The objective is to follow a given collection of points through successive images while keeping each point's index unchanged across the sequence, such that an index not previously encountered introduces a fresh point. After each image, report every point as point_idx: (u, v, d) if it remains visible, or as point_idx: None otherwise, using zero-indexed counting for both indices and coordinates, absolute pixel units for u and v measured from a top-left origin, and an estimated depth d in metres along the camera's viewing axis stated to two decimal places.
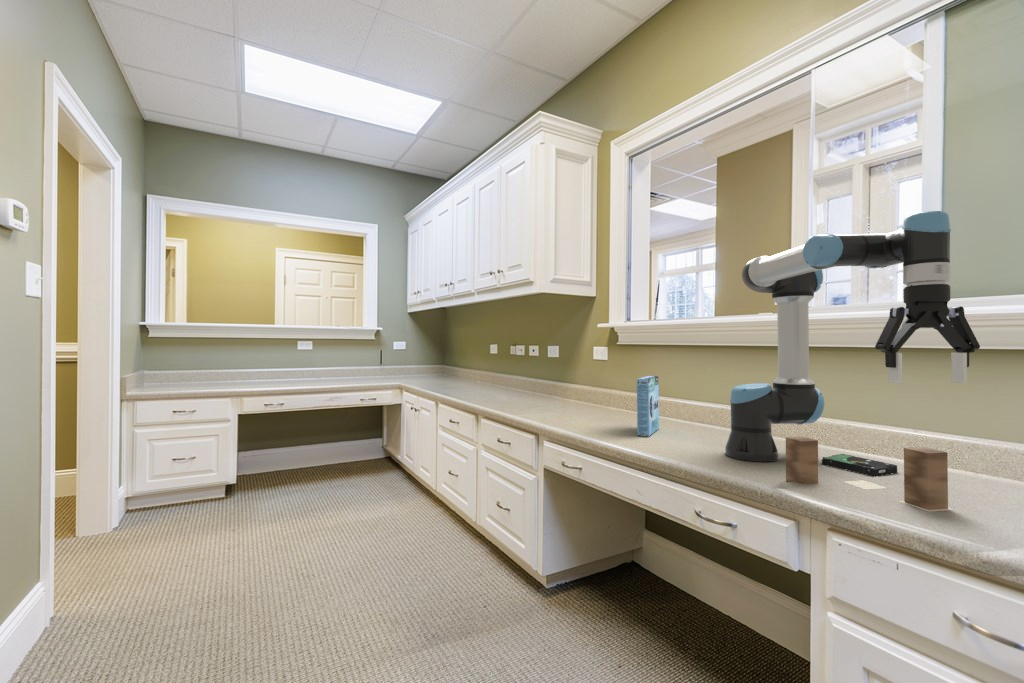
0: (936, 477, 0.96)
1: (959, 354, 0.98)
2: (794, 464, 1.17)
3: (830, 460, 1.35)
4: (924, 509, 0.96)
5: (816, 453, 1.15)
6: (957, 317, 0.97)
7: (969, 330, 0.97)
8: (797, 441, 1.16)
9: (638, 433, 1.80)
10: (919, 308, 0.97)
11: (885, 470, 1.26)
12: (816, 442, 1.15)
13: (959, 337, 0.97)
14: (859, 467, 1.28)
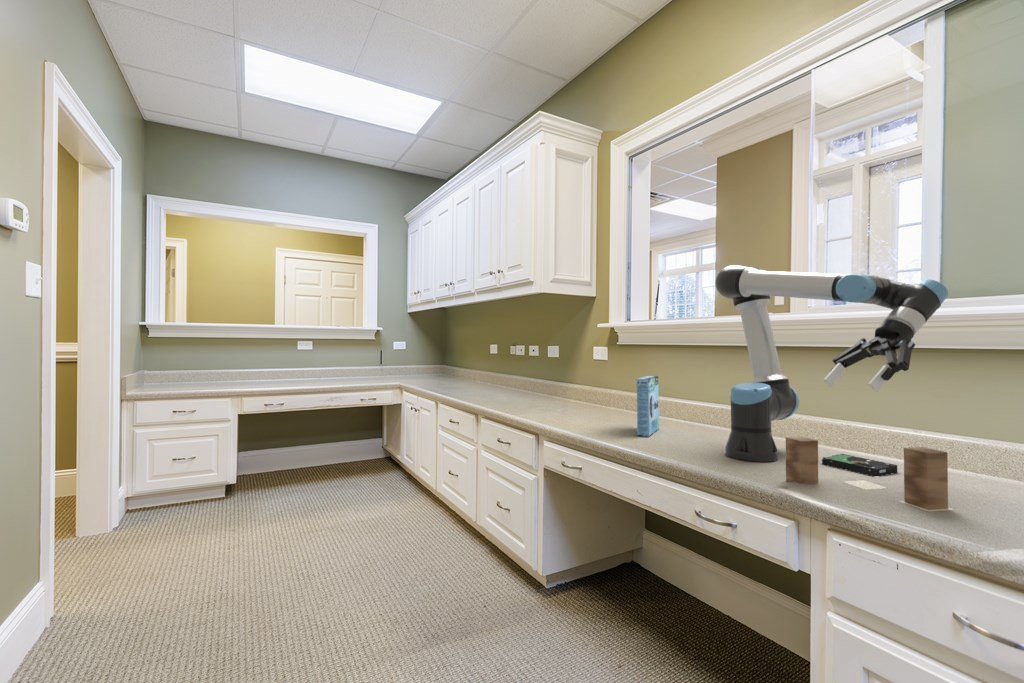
0: (936, 477, 0.96)
1: (843, 368, 1.26)
2: (794, 464, 1.17)
3: (830, 460, 1.35)
4: (924, 509, 0.96)
5: (816, 453, 1.15)
6: None
7: None
8: (797, 441, 1.16)
9: (638, 433, 1.80)
10: None
11: (886, 470, 1.26)
12: (816, 442, 1.15)
13: None
14: (860, 467, 1.28)
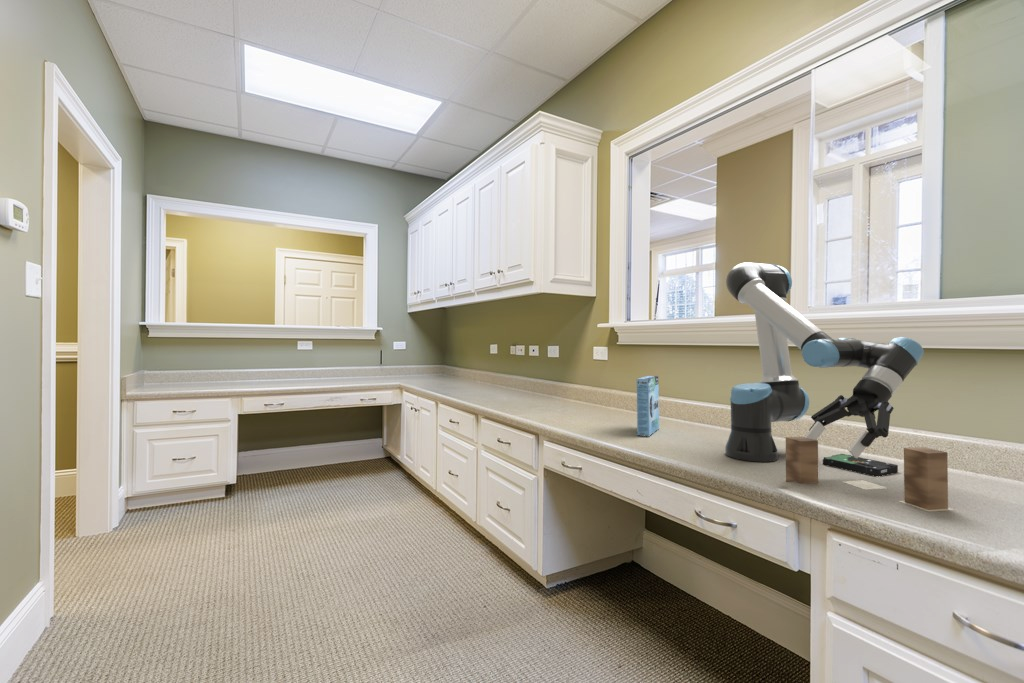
0: (936, 477, 0.96)
1: (822, 427, 1.24)
2: (794, 464, 1.17)
3: (831, 460, 1.35)
4: (924, 509, 0.96)
5: (816, 453, 1.15)
6: None
7: None
8: (797, 441, 1.16)
9: (638, 433, 1.80)
10: None
11: (887, 470, 1.26)
12: (816, 442, 1.15)
13: None
14: (861, 467, 1.28)
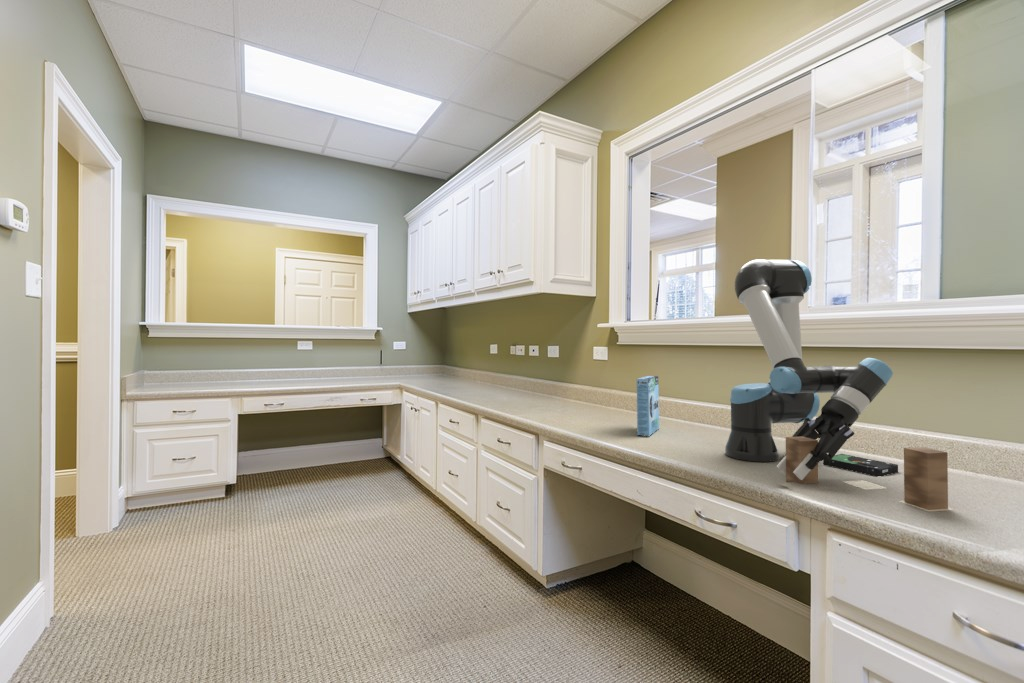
0: (936, 477, 0.96)
1: None
2: (794, 464, 1.17)
3: (832, 460, 1.35)
4: (924, 509, 0.96)
5: None
6: None
7: None
8: (797, 441, 1.16)
9: (638, 433, 1.80)
10: None
11: (888, 470, 1.26)
12: (816, 442, 1.15)
13: None
14: (862, 467, 1.28)
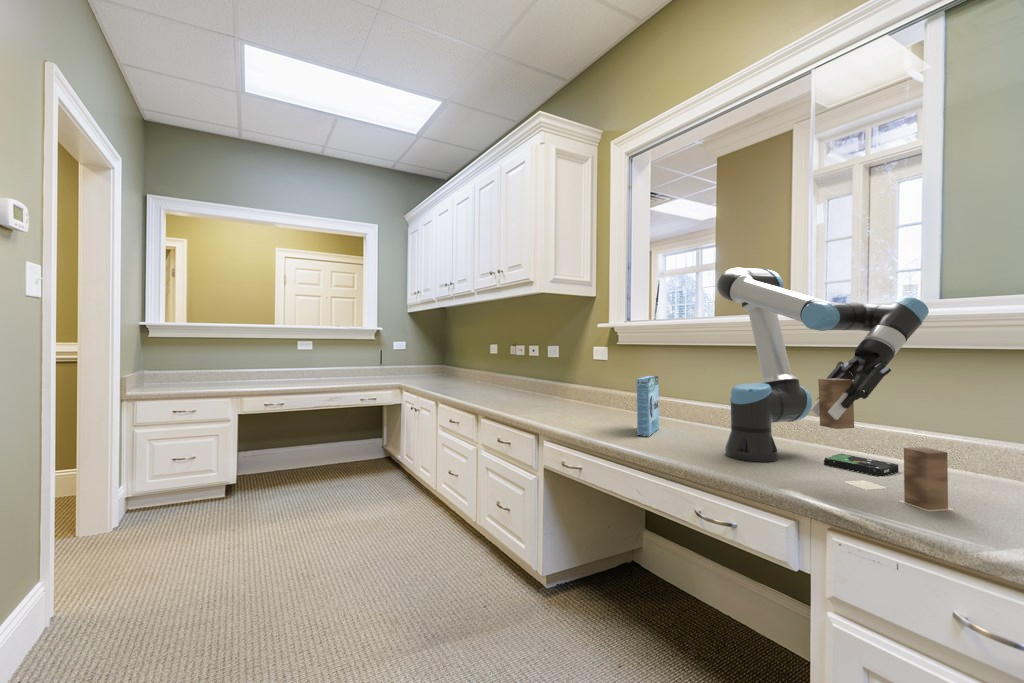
0: (936, 477, 0.96)
1: None
2: (828, 405, 1.14)
3: (833, 460, 1.35)
4: (924, 509, 0.96)
5: None
6: None
7: None
8: (831, 381, 1.13)
9: (638, 433, 1.80)
10: None
11: (889, 470, 1.26)
12: (851, 381, 1.12)
13: None
14: (864, 467, 1.28)
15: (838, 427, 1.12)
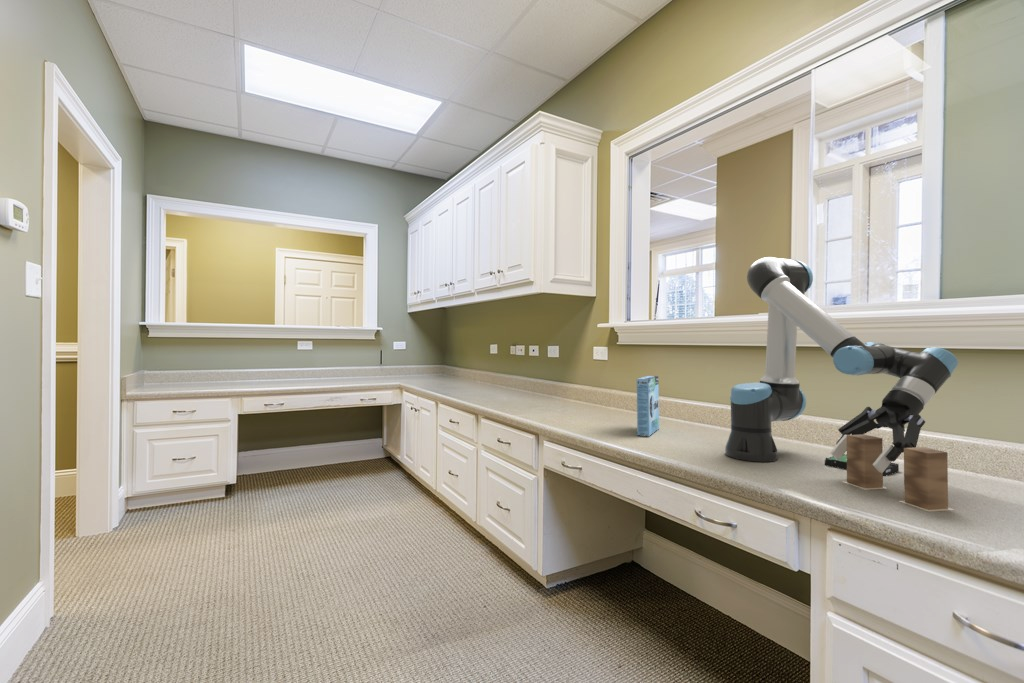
0: (936, 477, 0.96)
1: None
2: (857, 463, 1.12)
3: (834, 461, 1.34)
4: (924, 509, 0.96)
5: (880, 451, 1.11)
6: None
7: None
8: (861, 439, 1.11)
9: (638, 433, 1.80)
10: None
11: (890, 470, 1.27)
12: (880, 440, 1.11)
13: None
14: None
15: (867, 487, 1.10)
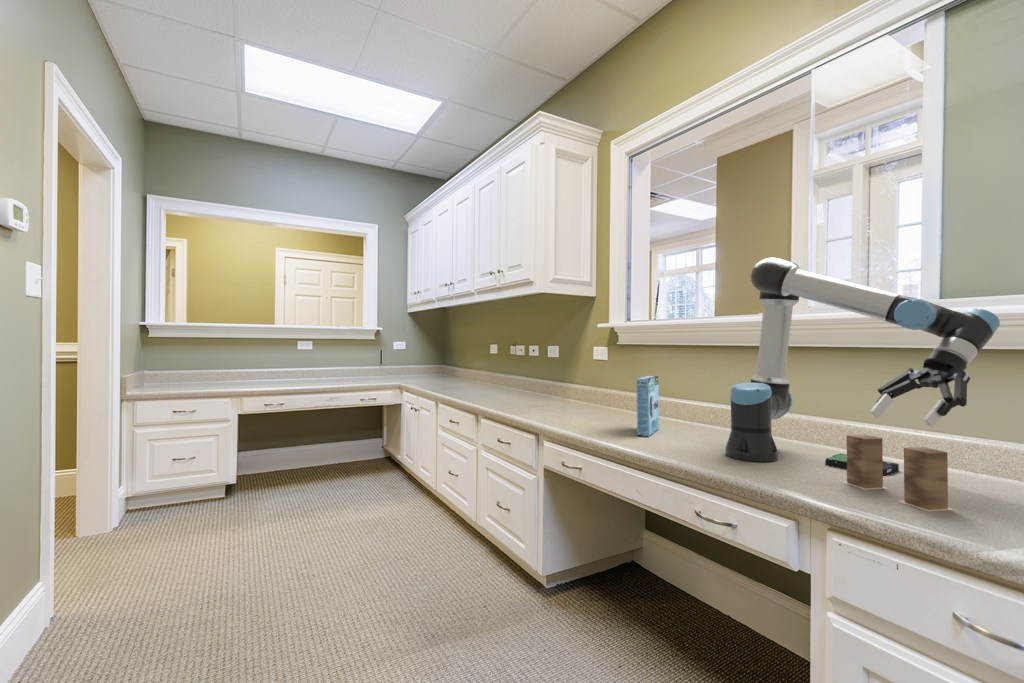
0: (936, 477, 0.96)
1: (890, 399, 1.22)
2: (857, 463, 1.12)
3: (835, 461, 1.34)
4: (924, 509, 0.96)
5: (880, 451, 1.11)
6: None
7: None
8: (861, 439, 1.11)
9: (638, 433, 1.80)
10: None
11: (891, 470, 1.27)
12: (880, 440, 1.11)
13: None
14: None
15: (867, 487, 1.10)
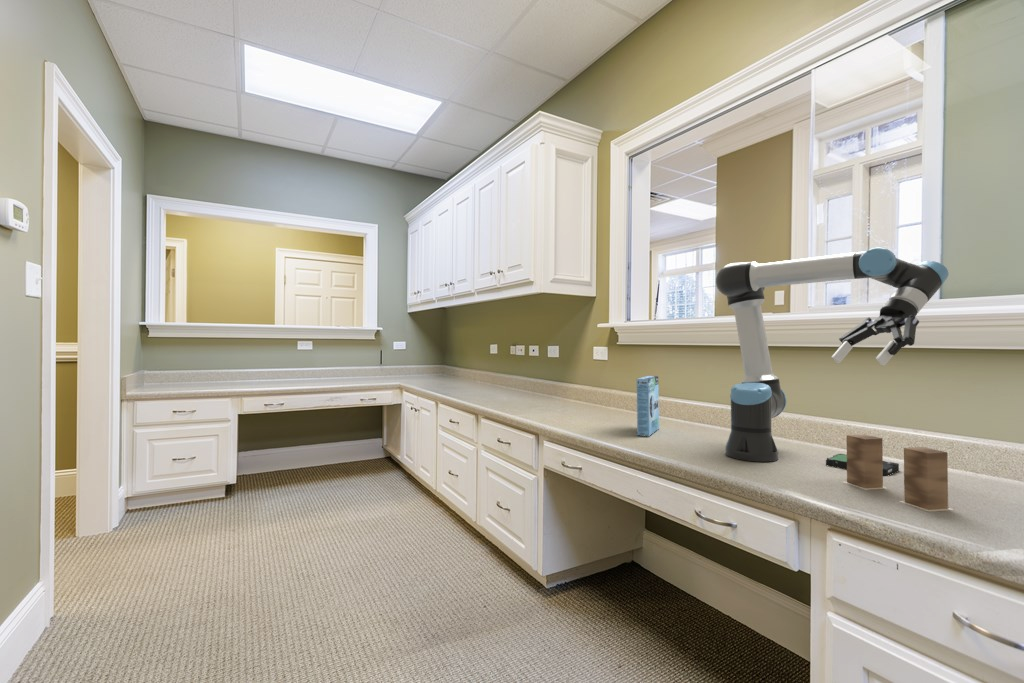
0: (936, 477, 0.96)
1: (850, 346, 1.32)
2: (857, 463, 1.12)
3: (835, 461, 1.34)
4: (924, 509, 0.96)
5: (880, 451, 1.11)
6: None
7: None
8: (861, 439, 1.11)
9: (638, 433, 1.80)
10: None
11: (892, 469, 1.27)
12: (880, 440, 1.11)
13: None
14: None
15: (867, 487, 1.10)
